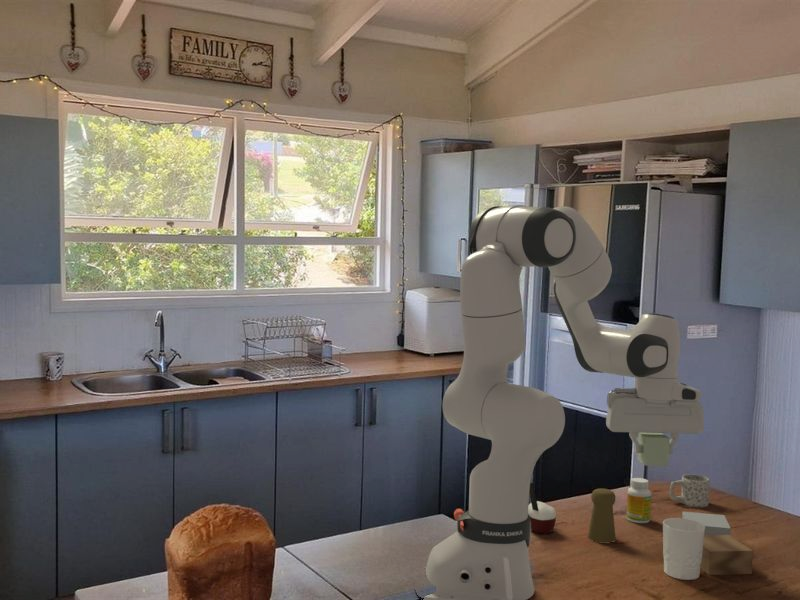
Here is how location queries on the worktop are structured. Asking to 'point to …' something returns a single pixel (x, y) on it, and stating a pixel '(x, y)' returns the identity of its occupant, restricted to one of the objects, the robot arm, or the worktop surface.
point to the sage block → (654, 449)
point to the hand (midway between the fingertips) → (653, 452)
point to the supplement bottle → (639, 501)
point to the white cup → (682, 547)
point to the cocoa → (540, 514)
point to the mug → (692, 490)
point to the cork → (602, 516)
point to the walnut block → (725, 556)
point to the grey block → (710, 522)
